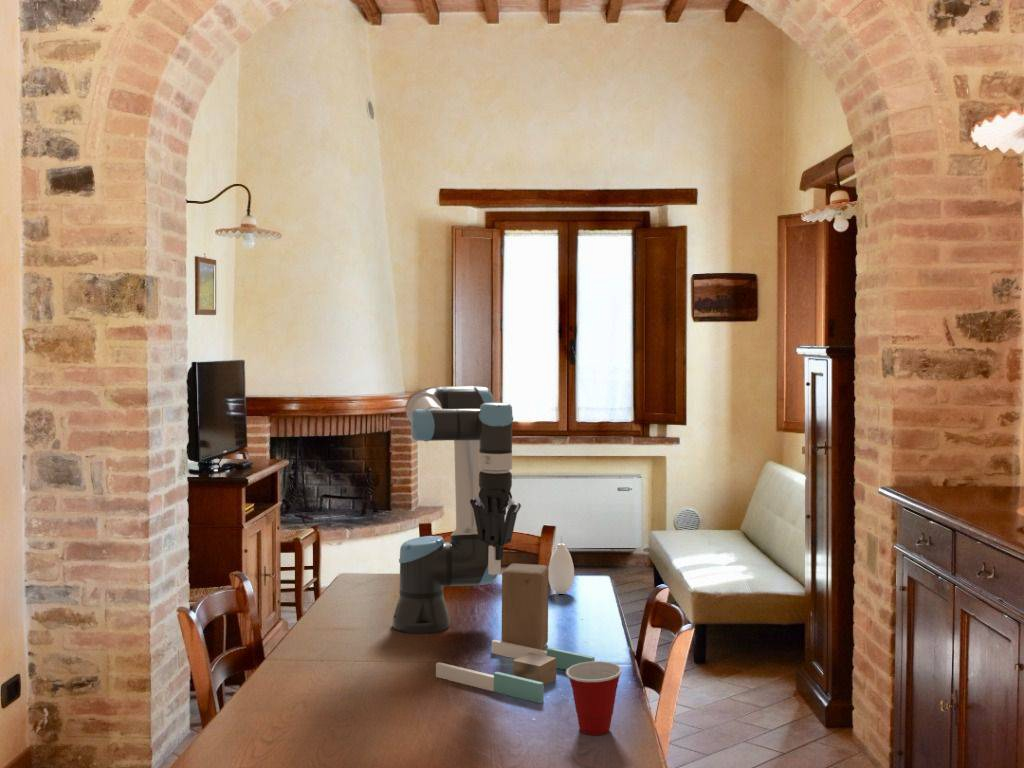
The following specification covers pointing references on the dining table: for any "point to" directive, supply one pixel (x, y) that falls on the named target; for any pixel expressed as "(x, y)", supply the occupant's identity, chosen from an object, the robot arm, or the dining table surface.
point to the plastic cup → (594, 694)
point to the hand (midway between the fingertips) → (494, 573)
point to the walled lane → (505, 681)
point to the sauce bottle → (561, 570)
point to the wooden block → (525, 605)
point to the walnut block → (535, 667)
